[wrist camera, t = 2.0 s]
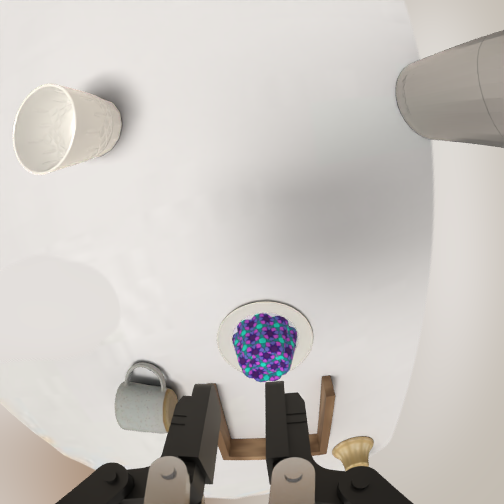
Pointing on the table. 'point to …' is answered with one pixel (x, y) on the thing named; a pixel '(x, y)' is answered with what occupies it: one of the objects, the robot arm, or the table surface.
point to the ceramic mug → (145, 404)
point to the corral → (257, 447)
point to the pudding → (264, 340)
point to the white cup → (63, 128)
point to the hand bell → (353, 452)
